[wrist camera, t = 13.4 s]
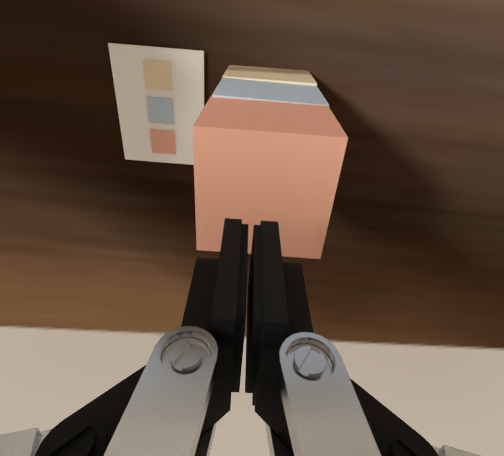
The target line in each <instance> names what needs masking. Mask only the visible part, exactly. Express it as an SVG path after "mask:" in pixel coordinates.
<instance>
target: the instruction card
mask: <svg viewBox="0 0 504 456" xmlns="http://www.w3.org/2000/svg"><path fill="white" fill-rule="evenodd" d="M108 48H109V54H110V61H111V68H112V74H113V81H114V88H115V95H116V101H117V108H118V115H119V121H120V128H121V135H122V142H123V148H124V155H125V159H127V160H139V161H152V162H164V163H176V164H189V165H194V154H193V124H194V123H195V121H196V119H197V118H198V116H199V115H200V113H201V111H202V110H203V108H204V107H205V104H204V51H201V50H189V49H177V48H165V47H153V46H142V45H130V44H118V43H108Z"/></svg>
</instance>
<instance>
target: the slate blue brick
mask: <svg viewBox="0 0 504 456" xmlns="http://www.w3.org/2000/svg"><path fill="white" fill-rule="evenodd" d="M212 97H221V98H234V99H247V100H260V101H273V102H286V103H299V104H312V105H325V106H328V107H329V104H328V102H327V101H326V99H325V98H324V96H323V95H322V93H321V92H320V90H319V89H318V87H317V86H311V85H300V84H289V83H278V82H267V81H256V80H246V79H235V78H224V77H223V78H222V79H221V81H220V82H219V84H218V86H217V87H216V89H215V91H214V92H213V94H212Z"/></svg>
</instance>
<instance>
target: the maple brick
mask: <svg viewBox="0 0 504 456" xmlns="http://www.w3.org/2000/svg"><path fill="white" fill-rule="evenodd" d="M223 77H224V78H235V79H246V80H256V81H267V82H278V83H289V84H300V85H311V86H317V83H316V81H315V80H314V78H313V77H312V75H311V74H310V72H309V71H303V70H290V69H277V68H264V67H251V66H238V65H229V67H228V68H227V70H226V71H225V73H224V74H223V76H222V78H223Z"/></svg>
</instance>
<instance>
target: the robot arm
mask: <svg viewBox="0 0 504 456" xmlns="http://www.w3.org/2000/svg"><path fill="white" fill-rule="evenodd" d="M247 258H248V224H242V219H230V218H225V221H224V228H223V235H222V242H221V249H220V257H219V259H212V258H197V260H196V264H195V268H194V273H193V277H192V281H191V286H190V290H189V295H188V299H187V303H186V308H185V312H184V317H183V321H182V325H181V327H178V328H175V329H173V330H171V331H169V332H167V333H166V334H165V335H164V336H163V337H161V338H160V340H159V341H158V343H157V344H156V346H155V348H154V350H153V352H152V354H151V356H150V358H149V360H148V363H147V365H145V366H144V367H142V368H141V369H139V370H138V371H136V372H135V373H133V374H132V375H130V376H129V377H127V378H126V379H124V380H123V381H121V382H120V383H118V384H117V385H115V386H114V387H112V388H111V389H109V390H108V391H106V392H105V393H103V394H102V395H100V396H99V397H98V398H96V399H94V400H93V401H91V402H90V403H89V404H87V405H85V406H84V407H82V408H81V409H80V410H78V411H77V412H75V413H73V414H72V415H70V416H69V417H68V418H66V419H64V420H63V421H62V422H60V423H59V424H58V425H57V426H56V427H54V428H53V429H51V430H46V431H41V432H40V431H39V430H38V428H33V429H28V430H23V431H18V432H13V433H7V434H2V435H0V456H209V454H210V449H211V445H212V441H213V437H214V432H215V428H216V422H217V421H219V419H221V418H222V417H223V416H224V415H225V414H226V413H227V412H228V411H229V410H230V402H231V392H239V387H240V376H241V365H242V354H243V342H244V332H245V319H246V291H247ZM246 343H247V344H246V381H245V392H246V393H253V405H255V412H256V413H257V414H258V415H259V416H260V417H261V418H262V419H263V420H264V421H265V422H266V432H267V438H268V444H269V450H270V456H480V455H477V454H473V453H470V452H466V451H463V450H459V449H456V448H452V447H449V446H446V445H443V446H442V448H437V447H434V446H431V445H430V444H429V443H428V442H427V441H426V440H425V439H424V438H423V437H422V436H421V435H419V434H418V433H417V432H416V431H415V430H413V429H412V428H411V427H410V426H408V425H407V424H406V423H405V422H404V421H402V420H401V419H400V418H399V417H397V416H396V415H395V414H394V413H392V412H391V411H390V410H389V409H387V408H386V407H385V406H383V405H382V404H381V403H380V402H379V401H377V400H376V399H375V398H374V397H373V396H371V395H370V394H368V392H366V391H365V390H364V389H363V388H361V387H360V386H359V385H358V384H356V383H355V382H354V381H353V380H351V379H350V378H349V375H348V373H347V371H346V368H345V365H344V363H343V361H342V358H341V356H340V354H339V352H338V350H337V349H336V347H335V346H334V345H333V344H332V343H331V342H330V341H329V340H327V339H325V338H324V337H322V336H320V335H317V334H314V333H313V328H312V323H311V317H310V311H309V305H308V300H307V294H306V288H305V283H304V277H303V271H302V267H301V264H294V263H283V262H282V253H281V243H280V234H279V224H278V222H276V221H261V222H260V225H254V228H253V239H252V250H251V261H250V272H249V283H248V302H247V341H246Z"/></svg>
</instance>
